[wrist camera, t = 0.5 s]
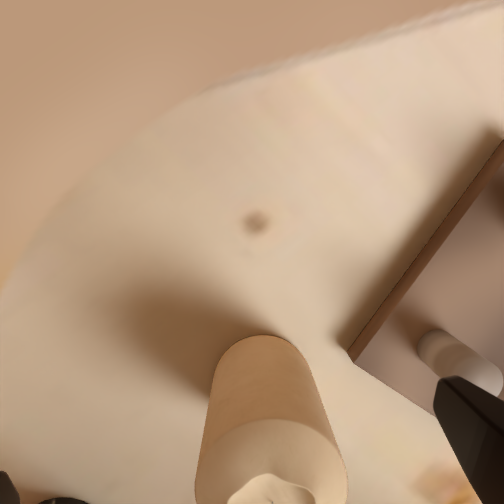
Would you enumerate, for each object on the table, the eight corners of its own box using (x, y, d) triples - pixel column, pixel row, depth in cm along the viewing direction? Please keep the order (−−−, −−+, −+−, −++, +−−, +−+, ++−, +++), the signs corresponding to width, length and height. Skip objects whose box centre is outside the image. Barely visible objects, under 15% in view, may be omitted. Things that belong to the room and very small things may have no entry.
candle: (278, 315, 22) (303, 412, 13) (328, 394, 23) (390, 545, 13) (194, 365, 23) (155, 498, 13) (246, 441, 23) (246, 623, 14)
